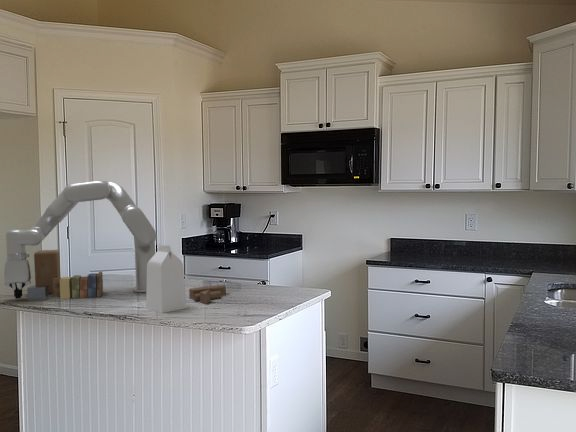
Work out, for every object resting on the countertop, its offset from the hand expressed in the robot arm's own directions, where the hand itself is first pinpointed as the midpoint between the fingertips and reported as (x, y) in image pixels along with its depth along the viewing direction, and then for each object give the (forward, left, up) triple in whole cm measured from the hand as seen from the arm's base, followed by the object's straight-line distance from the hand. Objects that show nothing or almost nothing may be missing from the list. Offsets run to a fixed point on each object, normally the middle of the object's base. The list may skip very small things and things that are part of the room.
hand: (18, 298), depth 245 cm
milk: (-65, +35, -1) cm, 74 cm away
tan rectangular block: (-20, 0, -1) cm, 20 cm away
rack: (-24, -3, -1) cm, 24 cm away
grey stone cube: (-8, 0, -1) cm, 8 cm away
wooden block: (-9, -17, -1) cm, 19 cm away
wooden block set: (-85, +22, -2) cm, 88 cm away
